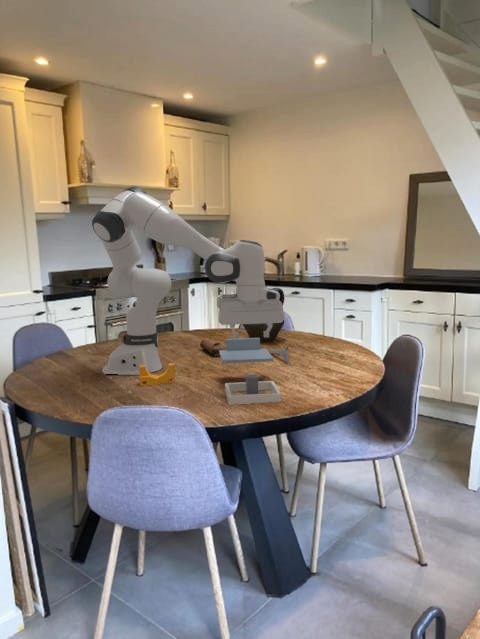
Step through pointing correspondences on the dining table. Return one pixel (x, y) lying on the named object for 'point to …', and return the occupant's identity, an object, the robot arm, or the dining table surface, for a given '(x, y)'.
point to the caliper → (282, 353)
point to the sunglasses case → (212, 346)
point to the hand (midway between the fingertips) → (251, 337)
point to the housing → (252, 398)
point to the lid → (244, 351)
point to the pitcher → (265, 325)
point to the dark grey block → (251, 384)
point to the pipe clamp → (156, 376)
